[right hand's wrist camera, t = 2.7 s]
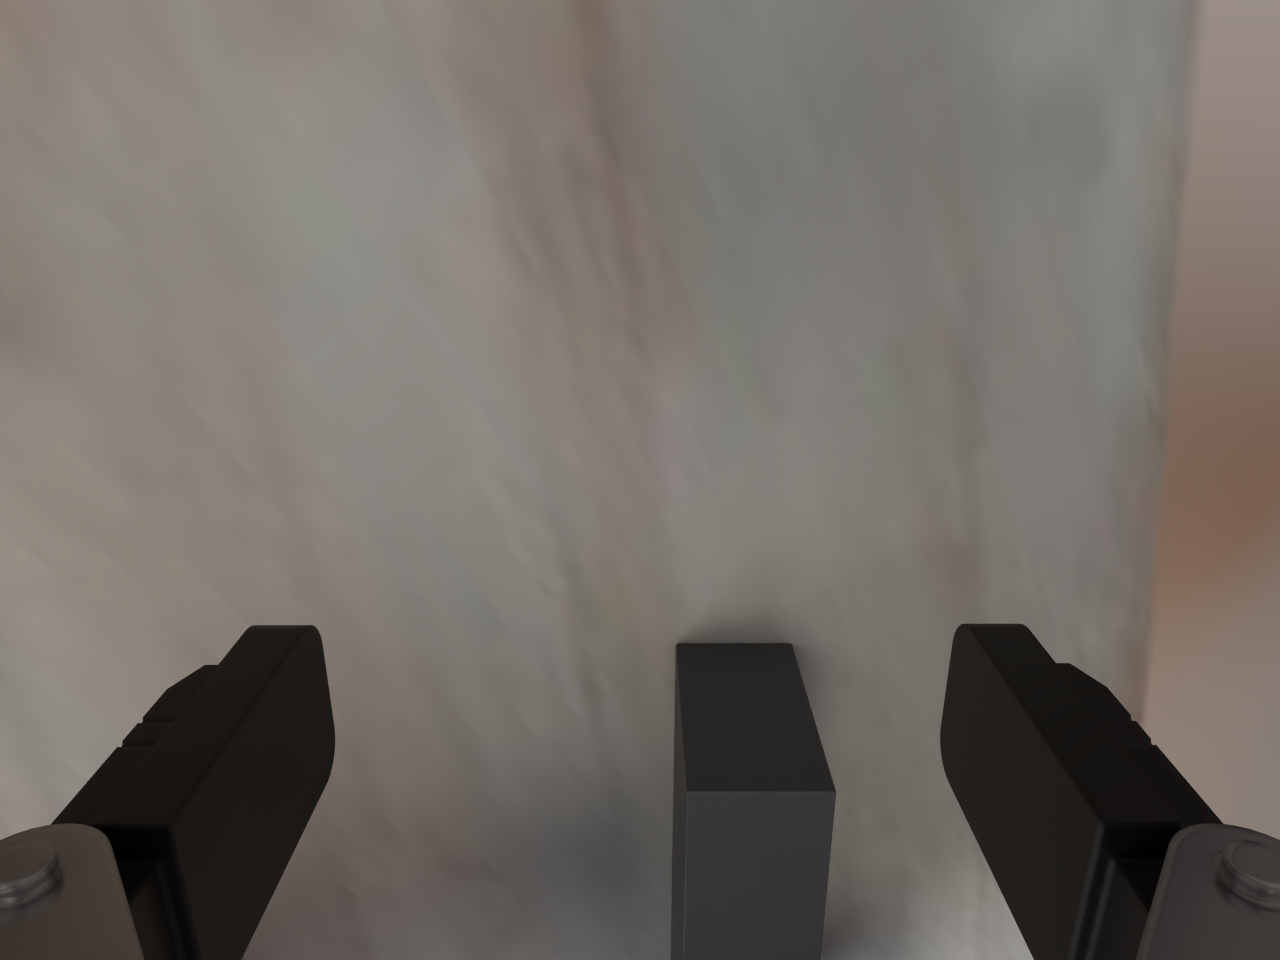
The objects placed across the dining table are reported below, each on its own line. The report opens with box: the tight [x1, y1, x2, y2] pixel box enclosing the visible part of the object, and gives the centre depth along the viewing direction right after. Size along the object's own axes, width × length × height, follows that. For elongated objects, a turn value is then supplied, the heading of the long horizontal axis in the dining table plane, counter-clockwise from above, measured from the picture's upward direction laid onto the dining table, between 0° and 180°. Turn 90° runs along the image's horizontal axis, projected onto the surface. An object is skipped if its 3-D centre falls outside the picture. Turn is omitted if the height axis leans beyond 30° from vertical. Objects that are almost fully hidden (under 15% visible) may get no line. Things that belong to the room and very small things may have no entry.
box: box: [671, 644, 836, 960], centre depth 45 cm, size 25×6×11 cm, turn 0°
